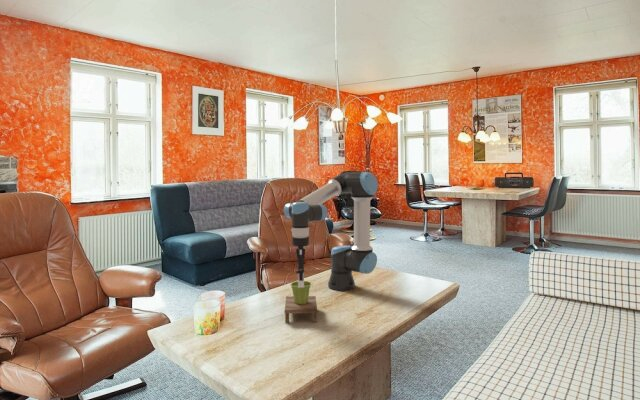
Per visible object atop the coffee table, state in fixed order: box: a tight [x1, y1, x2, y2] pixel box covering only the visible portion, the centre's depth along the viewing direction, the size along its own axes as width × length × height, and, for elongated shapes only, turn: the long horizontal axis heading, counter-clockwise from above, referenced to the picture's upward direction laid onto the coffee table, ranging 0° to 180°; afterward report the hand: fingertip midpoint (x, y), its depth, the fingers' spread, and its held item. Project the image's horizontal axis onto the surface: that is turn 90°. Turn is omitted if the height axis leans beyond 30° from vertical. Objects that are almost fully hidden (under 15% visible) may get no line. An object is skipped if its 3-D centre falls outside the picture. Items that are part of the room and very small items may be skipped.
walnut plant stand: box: [284, 295, 318, 324], centre depth 182 cm, size 18×14×6 cm
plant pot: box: [290, 280, 312, 304], centre depth 182 cm, size 9×9×9 cm
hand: (301, 282), depth 182 cm, fingers open, 13 cm apart
